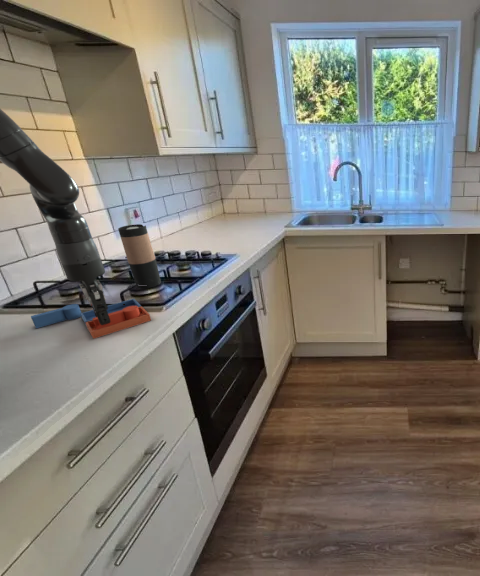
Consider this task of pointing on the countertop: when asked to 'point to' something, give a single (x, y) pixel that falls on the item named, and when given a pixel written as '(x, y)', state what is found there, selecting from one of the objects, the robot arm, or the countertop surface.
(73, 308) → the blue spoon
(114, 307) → the blue tray
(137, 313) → the orange elongated piece
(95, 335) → the terracotta tray
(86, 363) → the countertop surface
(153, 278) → the travel mug
